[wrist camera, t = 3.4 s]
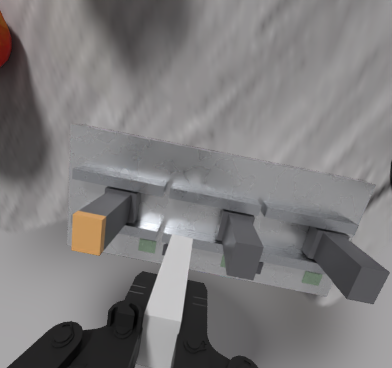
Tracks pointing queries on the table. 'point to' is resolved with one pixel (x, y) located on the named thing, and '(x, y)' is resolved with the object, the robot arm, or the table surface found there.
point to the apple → (4, 41)
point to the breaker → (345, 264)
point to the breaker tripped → (103, 219)
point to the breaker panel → (213, 202)
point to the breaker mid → (239, 243)
